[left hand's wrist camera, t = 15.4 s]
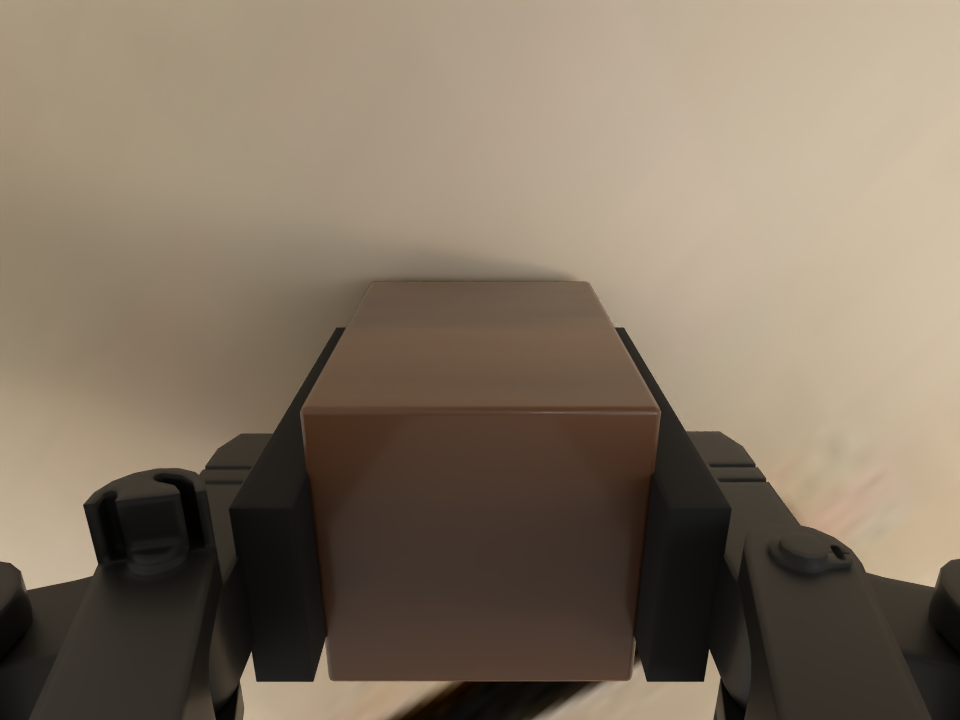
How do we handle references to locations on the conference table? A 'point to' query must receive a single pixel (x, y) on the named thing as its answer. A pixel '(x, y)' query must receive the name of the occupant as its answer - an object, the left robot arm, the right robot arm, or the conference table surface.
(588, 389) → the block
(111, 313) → the conference table surface
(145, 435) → the conference table surface
